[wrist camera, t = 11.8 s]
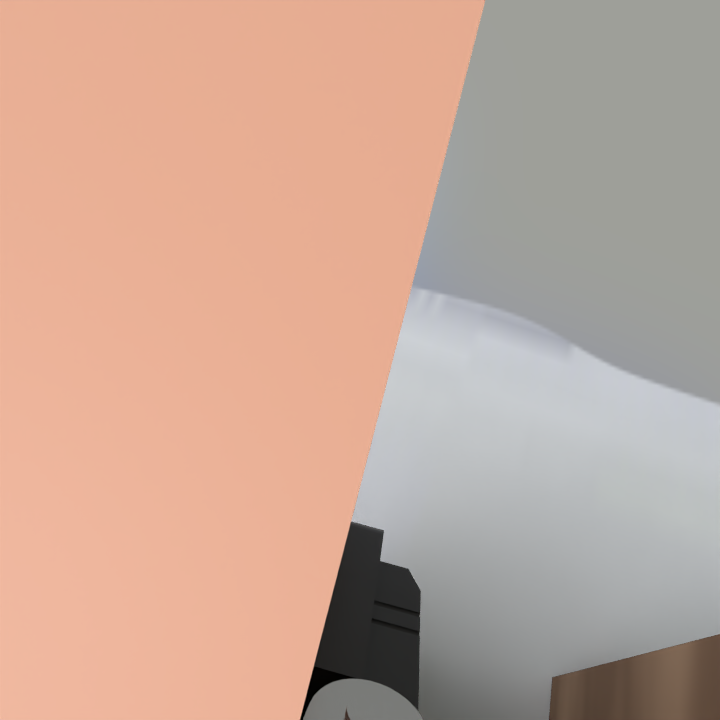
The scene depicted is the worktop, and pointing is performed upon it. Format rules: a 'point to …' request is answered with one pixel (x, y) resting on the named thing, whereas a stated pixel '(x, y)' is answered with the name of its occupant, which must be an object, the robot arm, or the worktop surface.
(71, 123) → the terracotta tile
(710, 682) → the middle walnut tile
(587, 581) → the worktop surface
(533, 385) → the worktop surface
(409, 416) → the worktop surface
